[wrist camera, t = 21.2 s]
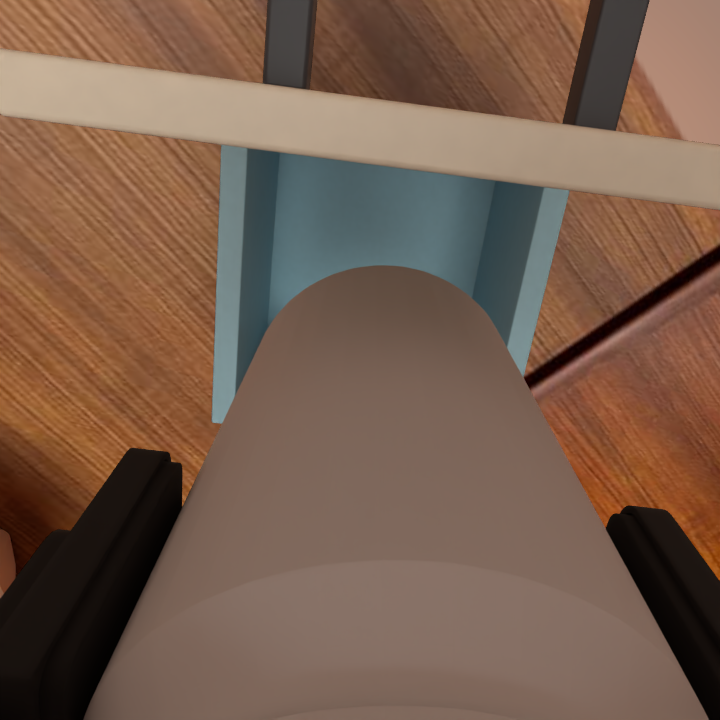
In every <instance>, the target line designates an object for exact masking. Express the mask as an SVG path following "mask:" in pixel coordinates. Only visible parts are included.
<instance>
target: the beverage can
mask: <svg viewBox="0 0 720 720" xmlns="http://www.w3.org/2000/svg"><path fill="white" fill-rule="evenodd" d="M83 720H709V719H708V717H707V715H706V713H705V711H704V709H703V707H702V705H701V703H700V702H699V700H698V698H697V696H696V694H695V692H694V691H693V689H692V687H691V685H690V683H689V681H688V680H687V678H686V676H685V674H684V672H683V670H682V668H681V667H680V665H679V663H678V661H677V659H676V657H675V656H674V654H673V652H672V650H671V648H670V646H669V645H668V643H667V641H666V639H665V637H664V635H663V634H662V632H661V630H660V628H659V626H658V624H657V623H656V621H655V619H654V617H653V615H652V613H651V612H650V610H649V608H648V606H647V604H646V602H645V601H644V599H643V597H642V595H641V593H640V591H639V590H638V588H637V586H636V584H635V582H634V580H633V578H632V577H631V575H630V573H629V571H628V569H627V567H626V566H625V564H624V562H623V560H622V558H621V556H620V555H619V553H618V551H617V549H616V547H615V545H614V544H613V542H612V540H611V538H610V536H609V534H608V533H607V531H606V529H605V527H604V525H603V523H602V522H601V520H600V518H599V516H598V514H597V512H596V511H595V509H594V507H593V505H592V503H591V501H590V499H589V498H588V496H587V494H586V492H585V490H584V488H583V487H582V485H581V483H580V481H579V479H578V477H577V476H576V474H575V472H574V470H573V468H572V466H571V465H570V463H569V461H568V459H567V457H566V455H565V454H564V452H563V450H562V448H561V446H560V444H559V443H558V441H557V439H556V437H555V435H554V433H553V432H552V430H551V428H550V426H549V424H548V422H547V420H546V419H545V417H544V415H543V413H542V411H541V409H540V408H539V406H538V404H537V402H536V400H535V398H534V397H533V395H532V393H531V391H530V389H529V387H528V386H527V384H526V382H525V380H524V378H523V376H522V375H521V373H520V371H519V369H518V367H517V365H516V364H515V362H514V360H513V358H512V356H511V354H510V353H509V351H508V349H507V347H506V345H505V343H504V341H503V340H502V338H501V336H500V334H499V332H498V331H497V329H496V327H495V326H494V324H493V322H492V321H491V319H490V317H489V316H488V314H487V313H486V312H485V311H484V310H483V309H482V308H481V307H480V306H479V305H478V304H477V303H476V302H475V301H474V300H473V299H472V298H471V297H470V296H469V295H468V294H466V293H465V292H464V291H462V290H461V289H459V288H458V287H456V286H455V285H453V284H451V283H450V282H448V281H446V280H444V279H442V278H439V277H437V276H435V275H432V274H430V273H427V272H424V271H421V270H416V269H412V268H408V267H402V266H388V265H376V266H365V267H358V268H353V269H348V270H345V271H342V272H338V273H335V274H333V275H330V276H328V277H326V278H323V279H321V280H319V281H317V282H316V283H314V284H312V285H310V286H309V287H307V288H306V289H304V290H303V291H301V292H300V293H299V294H297V295H296V296H295V297H294V298H292V299H291V300H290V301H289V302H288V303H287V304H286V305H285V306H284V308H283V309H282V310H281V311H280V312H279V313H278V314H277V315H276V317H275V318H274V319H273V321H272V323H271V324H270V326H269V327H268V329H267V331H266V332H265V334H264V336H263V338H262V340H261V343H260V345H259V347H258V349H257V351H256V353H255V355H254V357H253V359H252V362H251V364H250V366H249V368H248V370H247V372H246V374H245V376H244V378H243V381H242V383H241V385H240V387H239V389H238V391H237V393H236V395H235V397H234V399H233V402H232V404H231V406H230V408H229V410H228V412H227V414H226V416H225V418H224V421H223V423H222V425H221V427H220V429H219V431H218V433H217V435H216V437H215V440H214V442H213V444H212V446H211V448H210V450H209V452H208V454H207V456H206V459H205V461H204V463H203V465H202V467H201V469H200V471H199V473H198V475H197V477H196V480H195V482H194V484H193V486H192V488H191V490H190V492H189V494H188V496H187V499H186V501H185V503H184V505H183V507H182V509H181V511H180V513H179V515H178V518H177V520H176V522H175V524H174V526H173V528H172V530H171V532H170V534H169V537H168V539H167V541H166V543H165V545H164V547H163V549H162V551H161V553H160V555H159V558H158V560H157V562H156V564H155V566H154V568H153V570H152V572H151V574H150V577H149V579H148V581H147V583H146V585H145V587H144V589H143V591H142V593H141V596H140V598H139V600H138V602H137V604H136V606H135V608H134V610H133V612H132V615H131V617H130V619H129V621H128V623H127V625H126V627H125V629H124V631H123V633H122V636H121V638H120V640H119V642H118V644H117V646H116V648H115V650H114V652H113V655H112V657H111V659H110V661H109V663H108V665H107V667H106V669H105V671H104V674H103V676H102V678H101V680H100V682H99V684H98V686H97V688H96V690H95V693H94V695H93V697H92V699H91V701H90V703H89V706H88V708H87V711H86V714H85V716H84V719H83Z"/></svg>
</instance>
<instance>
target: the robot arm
mask: <svg viewBox="0 0 720 720" xmlns="http://www.w3.org/2000/svg"><path fill="white" fill-rule="evenodd" d="M181 509H182V465H181V464H180V463H175V462H171V457H170V454H169V453H168V452H164V451H155V450H146V449H138V448H130V449H129V450H128V451H127V452H126V454H125V455H124V456H123V458H122V459H121V461H120V462H119V463H118V465H117V466H116V468H115V469H114V470H113V472H112V473H111V475H110V476H109V478H108V479H107V480H106V482H105V483H104V485H103V486H102V487H101V489H100V490H99V492H98V493H97V494H96V496H95V497H94V499H93V500H92V501H91V503H90V504H89V506H88V507H87V509H86V510H85V511H84V513H83V514H82V516H81V517H80V518H79V520H78V521H77V523H76V524H75V525H74V527H73V528H72V530H71V531H69V530H60V529H58V530H55V531H53V532H51V533H50V535H49V536H48V537H47V538H46V539H45V540H44V541H43V542H42V544H41V545H40V546H39V548H38V549H37V550H36V552H35V553H34V554H33V556H32V557H31V558H30V560H29V561H28V562H27V564H26V565H25V566H24V568H23V569H22V570H21V572H20V573H19V574H18V576H17V577H16V578H15V580H14V581H13V582H12V583H11V585H10V586H9V587H8V589H7V590H6V591H5V593H4V594H3V595H2V597H1V598H0V720H83V719H84V716H85V714H86V711H87V708H88V706H89V703H90V701H91V699H92V697H93V695H94V693H95V690H96V688H97V686H98V684H99V682H100V680H101V678H102V676H103V674H104V671H105V669H106V667H107V665H108V663H109V661H110V659H111V657H112V655H113V652H114V650H115V648H116V646H117V644H118V642H119V640H120V638H121V636H122V633H123V631H124V629H125V627H126V625H127V623H128V621H129V619H130V617H131V615H132V612H133V610H134V608H135V606H136V604H137V602H138V600H139V598H140V596H141V593H142V591H143V589H144V587H145V585H146V583H147V581H148V579H149V577H150V574H151V572H152V570H153V568H154V566H155V564H156V562H157V560H158V558H159V555H160V553H161V551H162V549H163V547H164V545H165V543H166V541H167V539H168V537H169V534H170V532H171V530H172V528H173V526H174V524H175V522H176V520H177V518H178V515H179V513H180V511H181ZM606 531H607V533H608V534H609V536H610V538H611V540H612V542H613V544H614V545H615V547H616V549H617V551H618V553H619V555H620V556H621V558H622V560H623V562H624V564H625V566H626V567H627V569H628V571H629V573H630V575H631V577H632V578H633V580H634V582H635V584H636V586H637V588H638V590H639V591H640V593H641V595H642V597H643V599H644V601H645V602H646V604H647V606H648V608H649V610H650V612H651V613H652V615H653V617H654V619H655V621H656V623H657V624H658V626H659V628H660V630H661V632H662V634H663V635H664V637H665V639H666V641H667V643H668V645H669V646H670V648H671V650H672V652H673V654H674V656H675V657H676V659H677V661H678V663H679V665H680V667H681V668H682V670H683V672H684V674H685V676H686V678H687V680H688V681H689V683H690V685H691V687H692V689H693V691H694V692H695V694H696V696H697V698H698V700H699V702H700V703H701V705H702V707H703V709H704V711H705V713H706V715H707V717H708V719H709V720H720V581H719V580H718V578H717V577H716V576H715V574H714V573H713V571H712V570H711V569H710V567H709V566H708V565H707V563H706V562H705V561H704V559H703V558H702V556H701V555H700V554H699V552H698V551H697V550H696V548H695V547H694V545H693V544H692V543H691V541H690V540H689V539H688V537H687V536H686V534H685V533H684V532H683V530H682V529H681V528H680V526H679V525H678V523H677V522H676V521H675V519H674V518H673V517H672V515H671V514H670V513H669V512H668V511H666V510H663V509H655V508H646V507H638V506H626V507H625V508H624V509H623V510H622V511H621V513H620V514H617V513H616V514H613V515H612V516H611V517H610V519H609V521H608V524H607V527H606Z"/></svg>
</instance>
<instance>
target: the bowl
mask: <svg viewBox="0 0 720 720" xmlns="http://www.w3.org/2000/svg"><path fill="white" fill-rule="evenodd" d="M15 578H16V564H15V559H14V554H13V548H12V543H11V538H10V535H9V533H7V532H6V531H4V530H2V529H0V598H1V597H2V595H3V594H4V593H5V591H6V590H7V589H8V587H9V586H10V585H11V583H12V582H13V581H14V580H15Z"/></svg>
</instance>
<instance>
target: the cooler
mask: <svg viewBox="0 0 720 720" xmlns="http://www.w3.org/2000/svg"><path fill="white" fill-rule="evenodd" d="M569 191H570V190H563V189H555V188H547V187H540V186H532V185H524V184H517V183H509V182H502V181H494V180H486V179H479V178H471V177H463V176H456V175H448V174H441V173H433V172H425V171H418V170H410V169H402V168H395V167H387V166H380V165H372V164H364V163H357V162H349V161H341V160H334V159H326V158H319V157H311V156H303V155H296V154H288V153H280V152H273V151H265V150H258V149H250V148H242V147H235V146H227V145H221V165H220V194H219V223H218V252H217V281H216V309H215V338H214V367H213V396H212V422H213V423H221V424H222V423H223V421H224V418H225V416H226V414H227V412H228V410H229V408H230V406H231V404H232V402H233V399H234V397H235V395H236V393H237V391H238V389H239V387H240V385H241V383H242V381H243V378H244V376H245V374H246V372H247V370H248V368H249V366H250V364H251V362H252V359H253V357H254V355H255V353H256V351H257V349H258V347H259V345H260V343H261V340H262V338H263V336H264V334H265V332H266V331H267V329H268V327H269V326H270V324H271V323H272V321H273V319H274V318H275V317H276V315H277V314H278V313H279V312H280V311H281V310H282V309H283V308H284V306H285V305H286V304H287V303H288V302H289V301H290V300H291V299H292V298H294V297H295V296H296V295H297V294H299V293H300V292H301V291H303V290H304V289H306V288H307V287H309V286H310V285H312V284H314V283H316V282H317V281H319V280H321V279H323V278H326V277H328V276H330V275H333V274H335V273H338V272H342V271H345V270H348V269H353V268H358V267H365V266H376V265H388V266H402V267H408V268H412V269H416V270H421V271H424V272H427V273H430V274H432V275H435V276H437V277H439V278H442V279H444V280H446V281H448V282H450V283H451V284H453V285H455V286H456V287H458V288H459V289H461V290H462V291H464V292H465V293H466V294H468V295H469V296H470V297H471V298H472V299H473V300H474V301H475V302H476V303H477V304H478V305H479V306H480V307H481V308H482V309H483V310H484V311H485V312H486V313H487V314H488V316H489V317H490V319H491V321H492V322H493V324H494V326H495V327H496V329H497V331H498V332H499V334H500V336H501V338H502V340H503V341H504V343H505V345H506V347H507V349H508V351H509V353H510V354H511V356H512V358H513V360H514V362H515V364H516V365H517V367H518V369H519V371H520V373H521V375H522V376H523V377H524V372H525V368H526V364H527V360H528V356H529V352H530V348H531V344H532V340H533V336H534V332H535V328H536V324H537V320H538V316H539V312H540V308H541V304H542V300H543V296H544V292H545V288H546V284H547V280H548V276H549V272H550V268H551V264H552V260H553V256H554V252H555V248H556V243H557V239H558V235H559V231H560V227H561V223H562V219H563V215H564V211H565V207H566V203H567V199H568V195H569Z"/></svg>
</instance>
